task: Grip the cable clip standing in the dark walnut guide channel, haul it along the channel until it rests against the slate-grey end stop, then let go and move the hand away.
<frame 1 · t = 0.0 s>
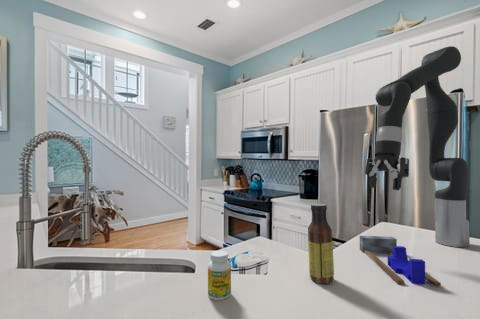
hand: (383, 188, 83), 22 cm above the countertop, tool pointing down, fingers open, 8 cm apart
cable clip: (404, 275, 70), resting in guide channel
supplement bottle: (219, 295, 58), on the countertop
sauce bottle: (320, 280, 66), on the countertop
guide channel: (393, 264, 75), on the countertop
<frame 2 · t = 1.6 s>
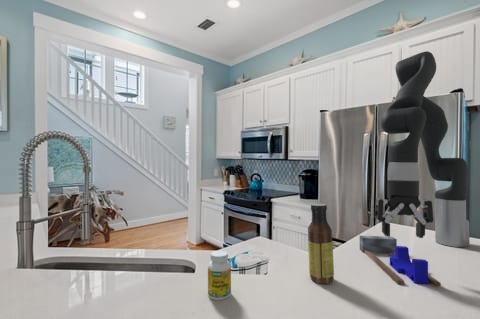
hand: (403, 236, 70), 10 cm above the countertop, tool pointing down, fingers open, 8 cm apart
nothing on the countertop moved.
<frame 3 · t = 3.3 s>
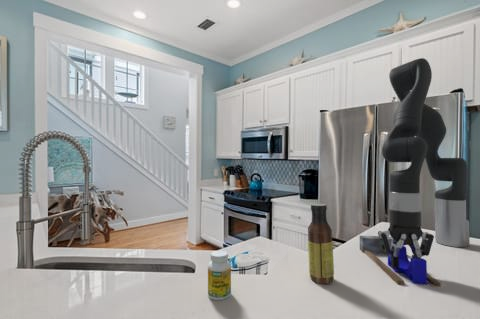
hand: (405, 269, 70), 1 cm above the countertop, tool pointing down, fingers closed on cable clip, 4 cm apart
cable clip: (405, 274, 69), resting in guide channel, touching gripper
everything else where it was.
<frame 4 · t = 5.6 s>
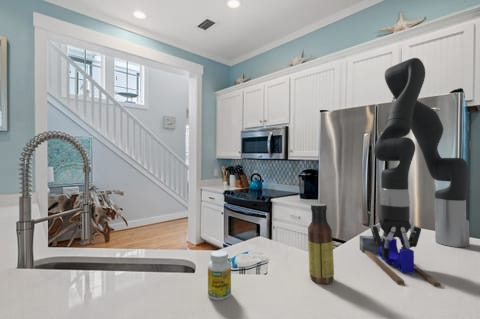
hand: (395, 259, 75), 2 cm above the countertop, tool pointing down, fingers closed on cable clip, 4 cm apart
cable clip: (395, 264, 75), resting in guide channel, touching gripper
everything else where it was.
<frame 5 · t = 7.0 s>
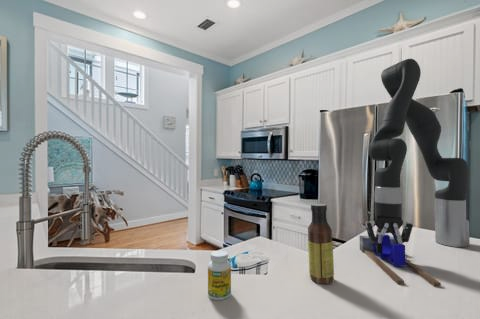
hand: (388, 254, 79), 2 cm above the countertop, tool pointing down, fingers closed on cable clip, 4 cm apart
cable clip: (388, 258, 79), resting in guide channel, touching gripper
everything else where it was.
when the fingers open (1 cm above the countertop, at t = 8.1 s): cable clip stays where it is, resting in guide channel.
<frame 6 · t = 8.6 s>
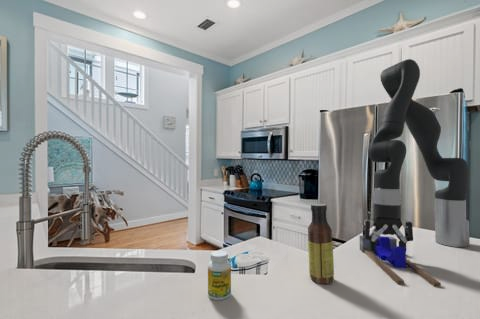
hand: (387, 253, 80), 2 cm above the countertop, tool pointing down, fingers open, 8 cm apart
cable clip: (388, 261, 79), resting in guide channel
everything else where it was.
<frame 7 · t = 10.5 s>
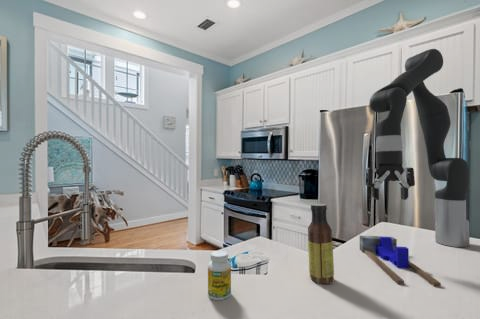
hand: (389, 199, 82), 19 cm above the countertop, tool pointing down, fingers open, 8 cm apart
nothing on the countertop moved.
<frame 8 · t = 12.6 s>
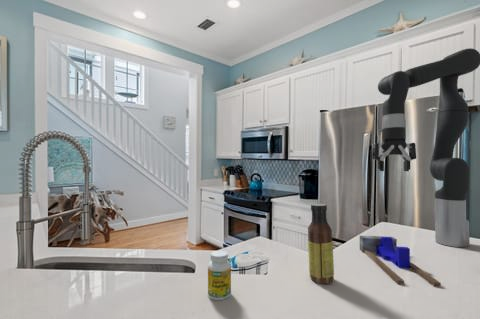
hand: (393, 171, 92), 28 cm above the countertop, tool pointing down, fingers open, 8 cm apart
nothing on the countertop moved.
at the end: cable clip 1.2 cm from the target spot on the guide channel, point 0.0 cm above the guide channel's base; cable clip tilted 0°; cable clip moved 10.0 cm from its start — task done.
